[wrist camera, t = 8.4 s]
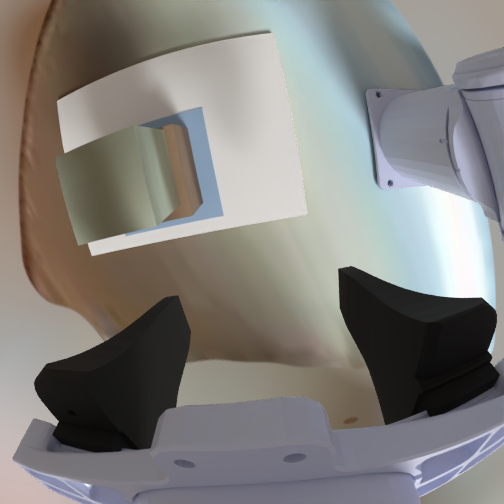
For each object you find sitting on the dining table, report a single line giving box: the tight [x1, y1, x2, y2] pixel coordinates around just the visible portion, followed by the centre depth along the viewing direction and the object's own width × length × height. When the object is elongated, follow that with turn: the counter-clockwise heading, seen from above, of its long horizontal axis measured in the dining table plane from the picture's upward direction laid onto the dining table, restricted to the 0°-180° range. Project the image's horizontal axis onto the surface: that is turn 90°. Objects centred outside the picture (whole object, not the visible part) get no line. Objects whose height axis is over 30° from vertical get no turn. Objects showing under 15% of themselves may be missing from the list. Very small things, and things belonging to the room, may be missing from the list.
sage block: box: [55, 125, 181, 245], centre depth 13 cm, size 4×4×4 cm
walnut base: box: [157, 124, 203, 223], centre depth 17 cm, size 6×6×4 cm
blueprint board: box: [57, 33, 308, 256], centre depth 19 cm, size 18×14×1 cm
